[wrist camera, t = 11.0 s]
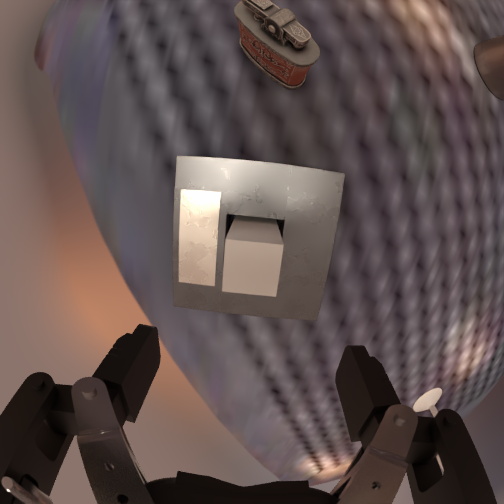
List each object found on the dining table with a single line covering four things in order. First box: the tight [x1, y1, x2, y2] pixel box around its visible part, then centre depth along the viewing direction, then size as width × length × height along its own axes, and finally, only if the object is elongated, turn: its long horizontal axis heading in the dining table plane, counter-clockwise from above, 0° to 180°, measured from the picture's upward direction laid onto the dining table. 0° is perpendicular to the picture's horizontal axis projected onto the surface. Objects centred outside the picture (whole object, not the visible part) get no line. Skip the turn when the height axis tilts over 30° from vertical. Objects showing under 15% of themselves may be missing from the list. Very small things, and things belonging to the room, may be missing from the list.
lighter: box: [234, 0, 320, 90], centre depth 17 cm, size 8×3×10 cm, turn 43°
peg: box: [222, 215, 284, 297], centre depth 24 cm, size 4×4×9 cm
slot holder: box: [173, 156, 345, 320], centre depth 26 cm, size 15×15×3 cm
